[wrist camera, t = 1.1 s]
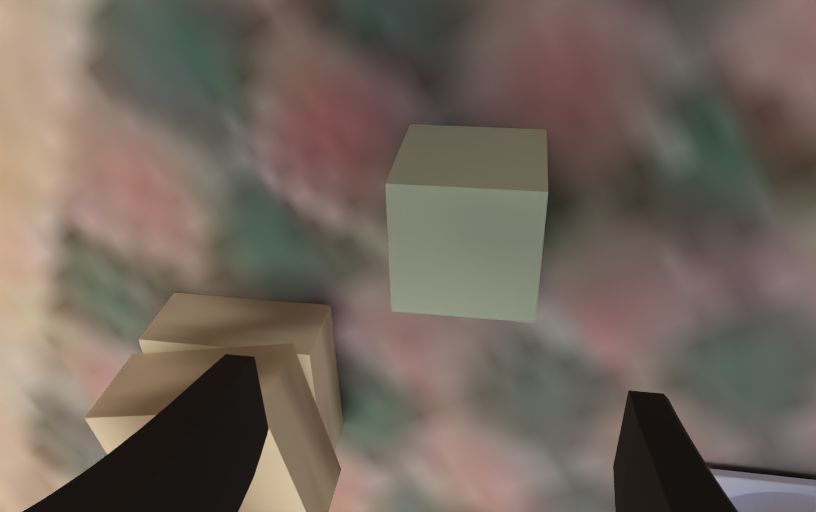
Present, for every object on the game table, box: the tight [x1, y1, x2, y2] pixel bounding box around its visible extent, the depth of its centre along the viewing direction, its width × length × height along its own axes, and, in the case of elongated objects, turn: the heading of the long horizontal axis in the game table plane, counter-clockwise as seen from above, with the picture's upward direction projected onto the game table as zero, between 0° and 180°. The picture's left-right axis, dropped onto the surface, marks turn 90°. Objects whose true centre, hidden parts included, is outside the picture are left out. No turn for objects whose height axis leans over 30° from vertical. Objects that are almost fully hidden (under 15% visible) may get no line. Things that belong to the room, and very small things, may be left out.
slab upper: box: [85, 343, 341, 512], centre depth 23 cm, size 6×6×3 cm
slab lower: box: [139, 293, 343, 450], centre depth 26 cm, size 6×6×3 cm
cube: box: [385, 124, 548, 323], centre depth 19 cm, size 4×4×4 cm
